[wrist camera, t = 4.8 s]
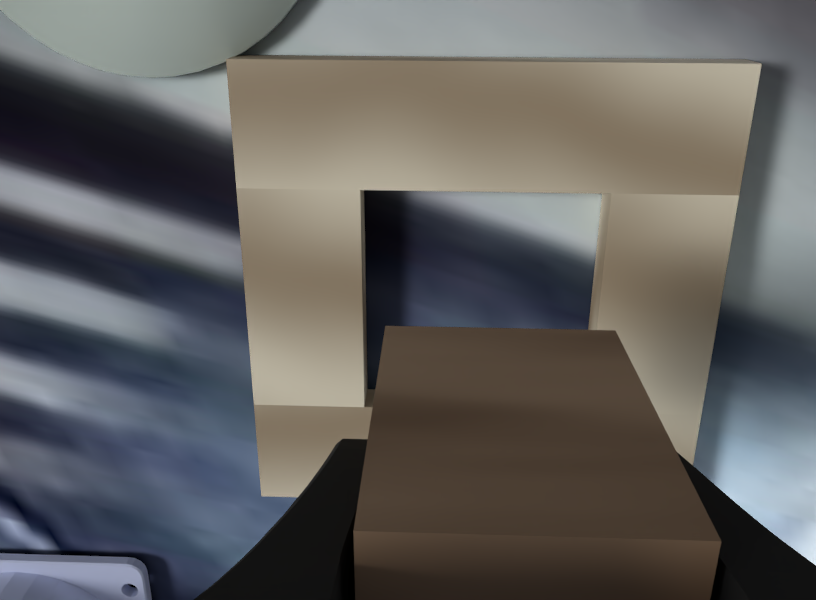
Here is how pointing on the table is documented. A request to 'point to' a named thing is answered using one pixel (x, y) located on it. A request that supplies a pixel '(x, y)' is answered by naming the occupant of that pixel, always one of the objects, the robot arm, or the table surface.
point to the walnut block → (523, 474)
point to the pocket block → (477, 172)
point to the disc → (148, 31)
